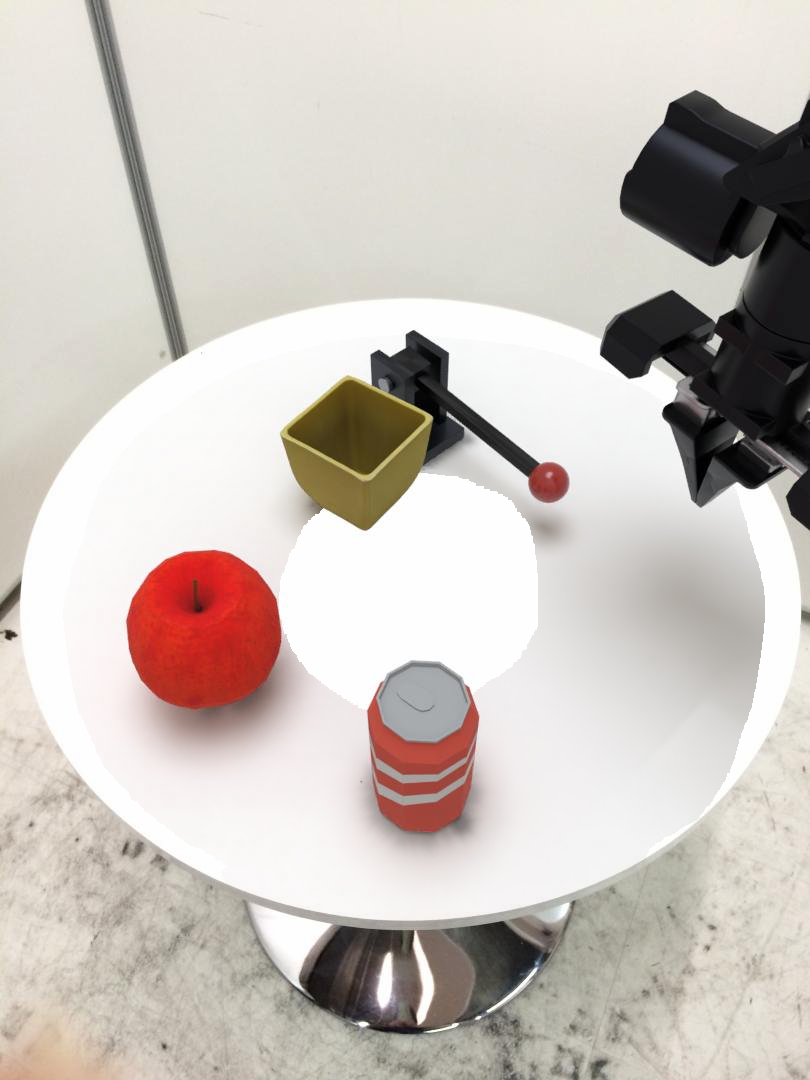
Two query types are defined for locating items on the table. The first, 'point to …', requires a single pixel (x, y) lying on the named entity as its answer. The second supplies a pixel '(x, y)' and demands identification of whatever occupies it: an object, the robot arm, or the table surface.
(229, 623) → the apple
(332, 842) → the table surface
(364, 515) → the flower pot
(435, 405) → the bracket
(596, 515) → the table surface
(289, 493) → the table surface
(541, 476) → the lever
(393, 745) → the beverage can
